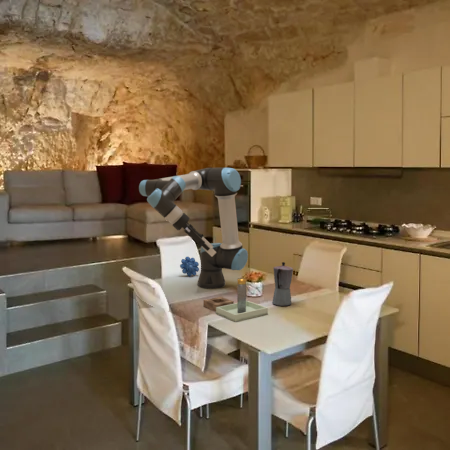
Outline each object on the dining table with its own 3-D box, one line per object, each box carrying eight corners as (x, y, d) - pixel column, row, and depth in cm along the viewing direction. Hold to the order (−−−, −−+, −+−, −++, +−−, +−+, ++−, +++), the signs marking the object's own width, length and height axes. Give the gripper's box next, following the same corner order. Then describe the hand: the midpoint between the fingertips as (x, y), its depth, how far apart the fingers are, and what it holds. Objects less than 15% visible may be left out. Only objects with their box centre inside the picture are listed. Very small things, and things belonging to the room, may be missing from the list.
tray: (247, 307, 230) (247, 300, 230) (267, 314, 219) (267, 307, 219) (216, 313, 220) (216, 307, 219) (235, 321, 208) (235, 315, 208)
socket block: (220, 302, 237) (220, 296, 237) (233, 307, 229) (233, 301, 229) (203, 306, 231) (203, 300, 231) (215, 311, 223) (215, 305, 223)
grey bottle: (242, 310, 222) (242, 277, 220) (247, 312, 219) (247, 279, 217) (235, 312, 220) (235, 278, 218) (240, 314, 217) (241, 280, 215)
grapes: (181, 278, 287) (181, 258, 286) (179, 276, 294) (178, 256, 292) (201, 277, 291) (201, 257, 290) (198, 274, 298) (197, 255, 296)
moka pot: (295, 301, 240) (296, 260, 238) (288, 309, 226) (289, 266, 224) (275, 299, 244) (276, 259, 241) (268, 307, 229) (268, 265, 227)
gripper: (171, 221, 227) (204, 252, 230) (171, 228, 202) (209, 263, 206) (182, 209, 227) (215, 240, 230) (184, 215, 202) (221, 250, 206)
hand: (212, 251), depth 218 cm, fingers open, 13 cm apart
